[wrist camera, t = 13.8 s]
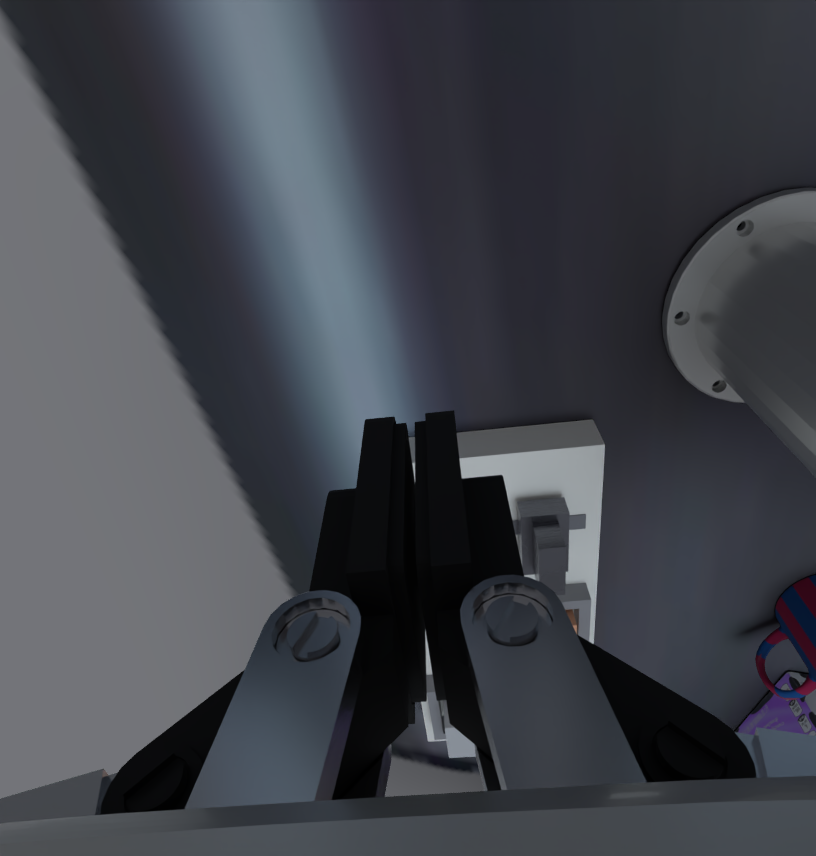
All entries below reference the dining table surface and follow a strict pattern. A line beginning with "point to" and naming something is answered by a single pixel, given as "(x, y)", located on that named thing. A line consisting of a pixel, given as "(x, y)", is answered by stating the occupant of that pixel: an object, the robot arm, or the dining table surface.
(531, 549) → the dark slider
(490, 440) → the panel
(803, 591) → the mug
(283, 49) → the dining table surface
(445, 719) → the grey button
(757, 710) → the candy box
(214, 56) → the dining table surface
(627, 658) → the dining table surface
